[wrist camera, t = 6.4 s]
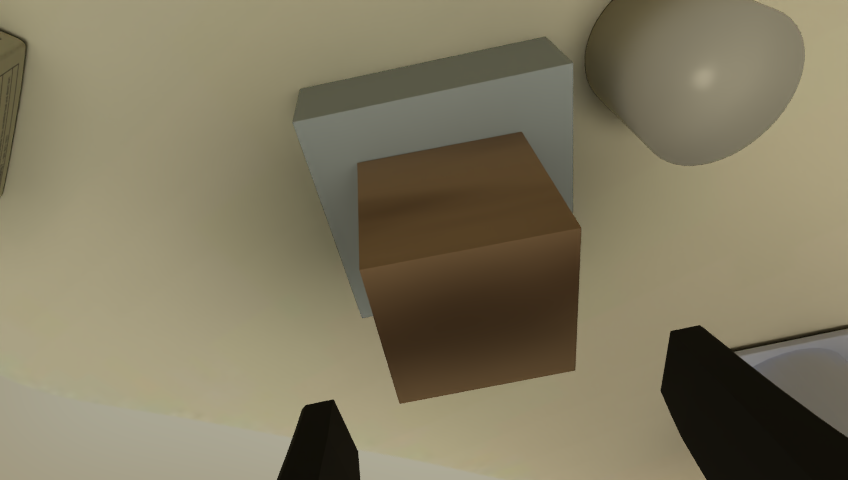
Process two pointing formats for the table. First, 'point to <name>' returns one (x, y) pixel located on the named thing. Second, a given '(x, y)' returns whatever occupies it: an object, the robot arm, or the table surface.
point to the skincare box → (9, 95)
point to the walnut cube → (468, 266)
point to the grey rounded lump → (695, 73)
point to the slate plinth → (433, 123)
